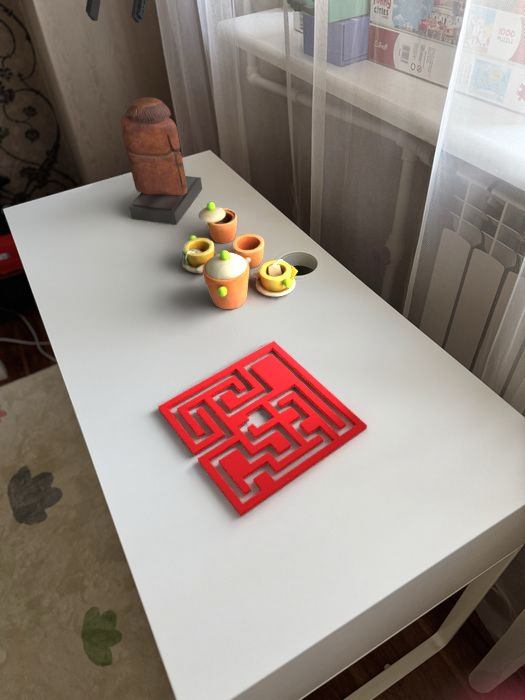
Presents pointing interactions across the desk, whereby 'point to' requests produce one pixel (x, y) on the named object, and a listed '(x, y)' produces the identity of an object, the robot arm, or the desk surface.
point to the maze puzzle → (235, 461)
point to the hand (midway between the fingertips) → (113, 19)
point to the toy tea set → (234, 261)
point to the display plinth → (165, 204)
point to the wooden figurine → (153, 148)
